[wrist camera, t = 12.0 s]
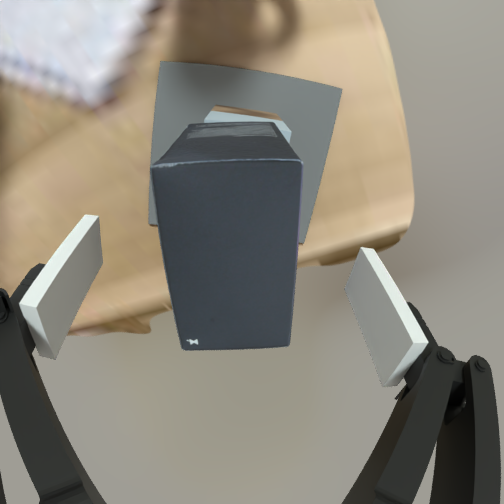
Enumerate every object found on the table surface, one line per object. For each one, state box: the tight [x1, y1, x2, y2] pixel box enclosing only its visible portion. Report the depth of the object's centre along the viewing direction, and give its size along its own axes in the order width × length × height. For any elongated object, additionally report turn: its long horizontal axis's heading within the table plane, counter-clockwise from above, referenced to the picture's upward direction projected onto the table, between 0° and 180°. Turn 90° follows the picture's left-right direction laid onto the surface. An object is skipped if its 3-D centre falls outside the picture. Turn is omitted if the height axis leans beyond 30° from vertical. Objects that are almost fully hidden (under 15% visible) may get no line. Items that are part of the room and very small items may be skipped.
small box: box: [150, 121, 304, 351], centre depth 19 cm, size 11×6×10 cm, turn 1°
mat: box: [149, 61, 342, 243], centre depth 32 cm, size 18×18×1 cm
